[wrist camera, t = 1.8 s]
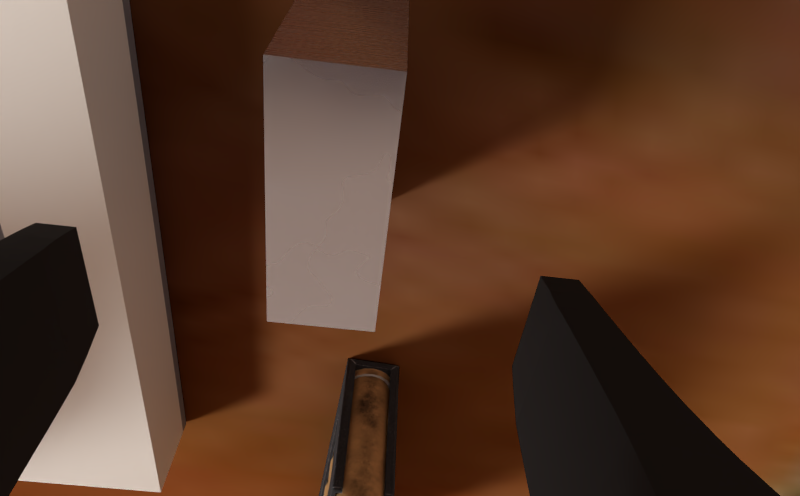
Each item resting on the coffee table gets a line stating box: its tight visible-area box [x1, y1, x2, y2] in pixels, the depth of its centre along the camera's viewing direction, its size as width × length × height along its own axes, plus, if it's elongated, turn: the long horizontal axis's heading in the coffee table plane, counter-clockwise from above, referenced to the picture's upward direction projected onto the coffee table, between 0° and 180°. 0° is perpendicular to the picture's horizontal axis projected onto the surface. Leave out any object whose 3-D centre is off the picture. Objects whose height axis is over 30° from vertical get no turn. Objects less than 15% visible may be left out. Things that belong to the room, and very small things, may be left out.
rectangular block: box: [263, 0, 409, 332], centre depth 14 cm, size 2×6×6 cm, turn 173°
